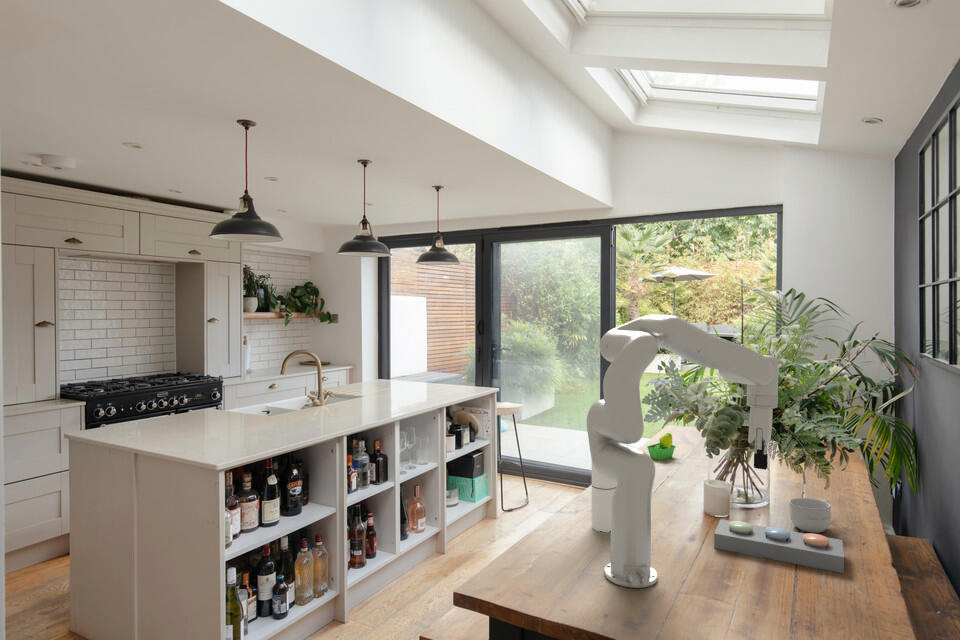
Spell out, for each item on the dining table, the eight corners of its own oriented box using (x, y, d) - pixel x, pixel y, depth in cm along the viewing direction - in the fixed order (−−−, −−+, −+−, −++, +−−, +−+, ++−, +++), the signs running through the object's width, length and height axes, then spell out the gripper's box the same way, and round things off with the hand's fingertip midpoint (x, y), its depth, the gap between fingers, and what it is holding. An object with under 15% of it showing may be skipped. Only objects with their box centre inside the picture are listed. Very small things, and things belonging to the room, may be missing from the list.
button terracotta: (829, 551, 152) (829, 536, 152) (829, 559, 147) (829, 544, 146) (802, 546, 155) (803, 531, 155) (802, 554, 150) (802, 539, 149)
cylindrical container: (588, 529, 171) (588, 445, 170) (595, 521, 177) (595, 440, 176) (612, 533, 167) (612, 448, 167) (618, 525, 174) (618, 442, 173)
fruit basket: (661, 453, 257) (661, 428, 257) (679, 457, 250) (679, 431, 250) (646, 458, 250) (646, 432, 250) (664, 462, 243) (664, 435, 243)
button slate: (790, 544, 156) (790, 529, 156) (789, 552, 151) (789, 537, 151) (765, 539, 159) (765, 525, 159) (763, 547, 154) (764, 532, 154)
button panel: (842, 554, 153) (842, 540, 153) (843, 573, 142) (844, 557, 142) (720, 532, 168) (720, 519, 168) (714, 547, 158) (714, 533, 157)
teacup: (809, 538, 164) (809, 510, 164) (780, 524, 174) (780, 497, 174) (848, 532, 168) (848, 505, 168) (817, 519, 178) (817, 493, 178)
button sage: (753, 537, 161) (753, 523, 161) (751, 545, 156) (751, 530, 155) (730, 533, 164) (730, 519, 164) (727, 540, 159) (727, 526, 158)
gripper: (750, 396, 165) (748, 460, 165) (743, 403, 152) (741, 472, 152) (779, 398, 161) (778, 464, 161) (775, 406, 148) (773, 477, 148)
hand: (760, 468), depth 157 cm, fingers closed
